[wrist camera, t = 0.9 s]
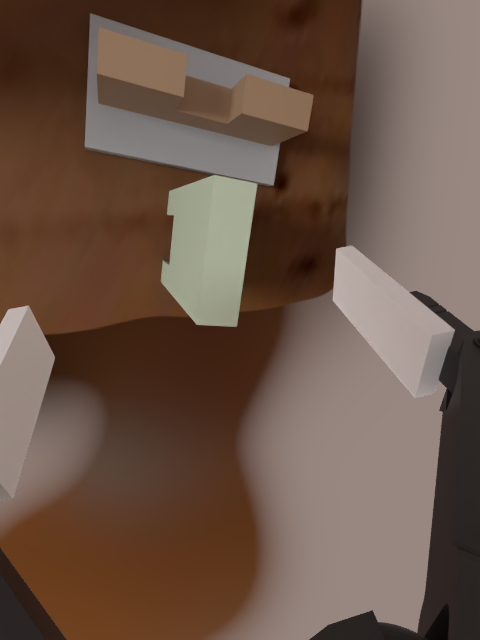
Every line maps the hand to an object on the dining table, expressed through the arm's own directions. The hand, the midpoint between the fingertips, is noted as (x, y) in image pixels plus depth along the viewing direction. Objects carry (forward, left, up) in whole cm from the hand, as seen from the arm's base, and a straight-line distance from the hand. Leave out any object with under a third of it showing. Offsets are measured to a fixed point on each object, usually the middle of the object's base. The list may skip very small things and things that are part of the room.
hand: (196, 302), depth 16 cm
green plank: (+2, +4, -27) cm, 27 cm away
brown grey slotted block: (-7, +13, -27) cm, 31 cm away
